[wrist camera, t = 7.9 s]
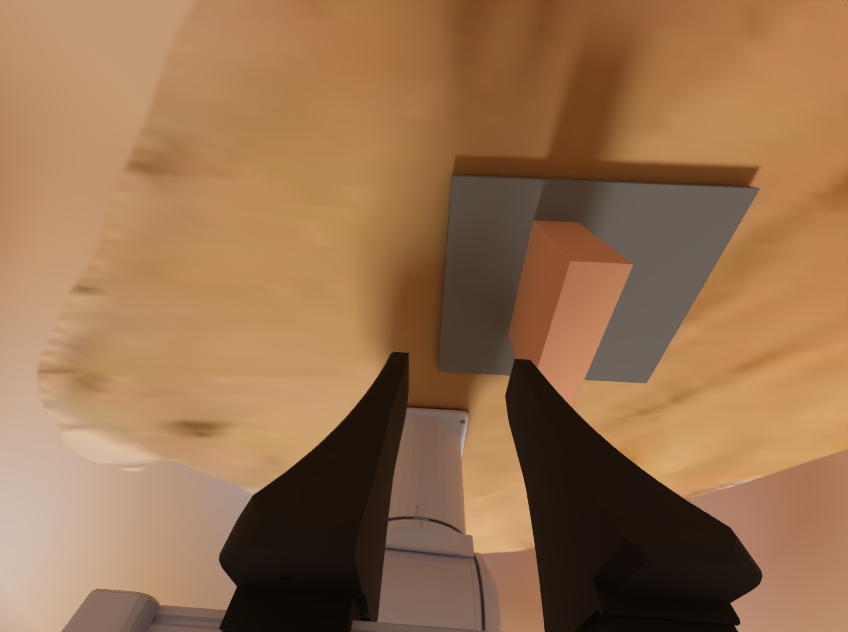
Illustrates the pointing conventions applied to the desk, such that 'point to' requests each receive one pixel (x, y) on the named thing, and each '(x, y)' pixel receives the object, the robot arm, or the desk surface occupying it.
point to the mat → (612, 223)
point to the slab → (565, 301)
